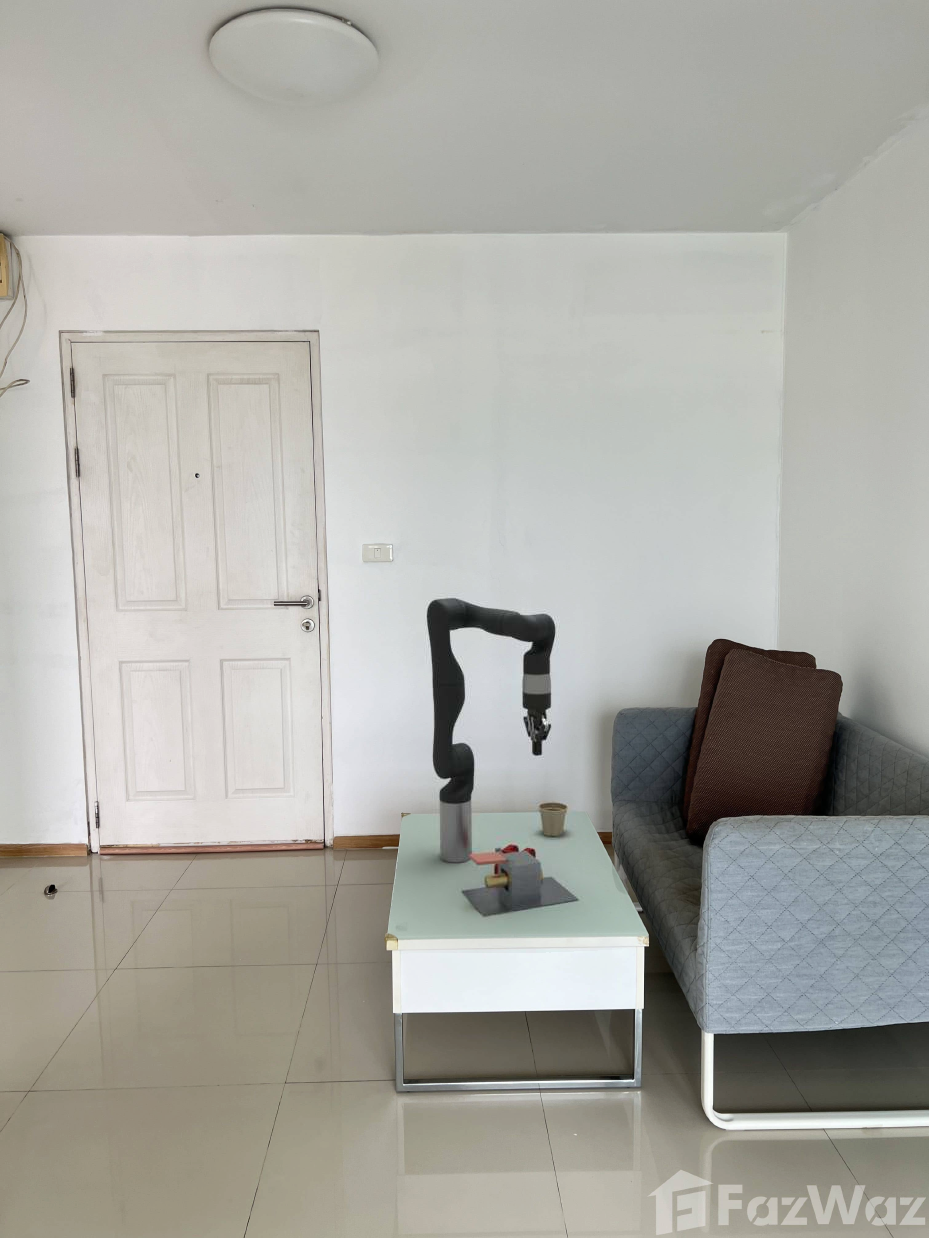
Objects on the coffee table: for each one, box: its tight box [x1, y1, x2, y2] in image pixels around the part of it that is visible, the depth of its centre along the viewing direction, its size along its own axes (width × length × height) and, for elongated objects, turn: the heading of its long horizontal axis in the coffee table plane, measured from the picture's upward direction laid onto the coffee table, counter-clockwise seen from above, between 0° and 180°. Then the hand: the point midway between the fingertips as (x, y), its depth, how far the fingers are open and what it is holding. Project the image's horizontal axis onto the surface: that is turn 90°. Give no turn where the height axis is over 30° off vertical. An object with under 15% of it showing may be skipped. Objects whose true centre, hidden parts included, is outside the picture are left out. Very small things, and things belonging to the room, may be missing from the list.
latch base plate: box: [461, 847, 580, 917], centre depth 224 cm, size 16×26×12 cm, turn 110°
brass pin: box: [484, 868, 544, 889], centre depth 223 cm, size 6×14×6 cm, turn 110°
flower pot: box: [537, 801, 569, 837], centre depth 271 cm, size 9×9×9 cm
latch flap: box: [469, 851, 509, 866], centre depth 220 cm, size 7×9×1 cm
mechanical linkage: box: [493, 843, 537, 875], centre depth 242 cm, size 16×7×5 cm, turn 149°
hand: (537, 754), depth 229 cm, fingers closed
